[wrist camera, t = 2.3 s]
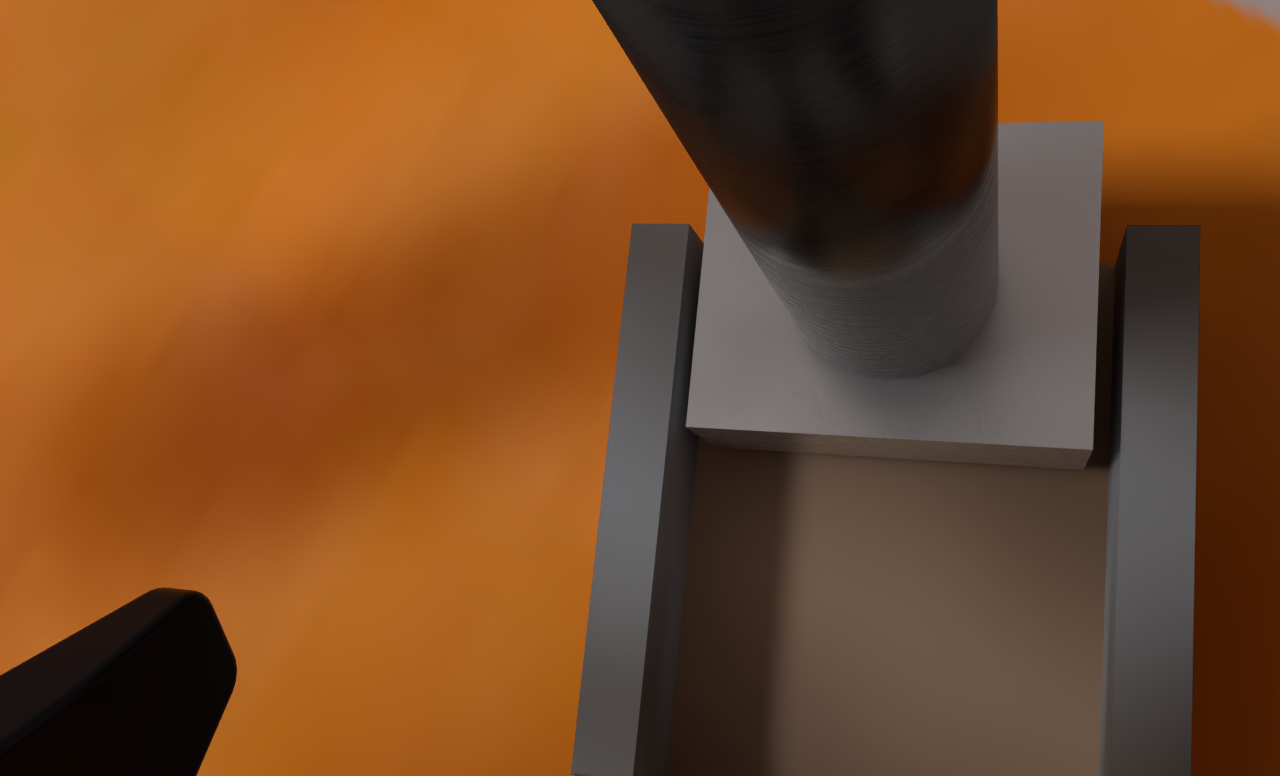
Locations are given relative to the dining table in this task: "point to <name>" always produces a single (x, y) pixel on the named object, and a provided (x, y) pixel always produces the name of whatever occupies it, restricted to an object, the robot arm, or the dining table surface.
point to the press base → (897, 570)
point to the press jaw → (877, 232)
